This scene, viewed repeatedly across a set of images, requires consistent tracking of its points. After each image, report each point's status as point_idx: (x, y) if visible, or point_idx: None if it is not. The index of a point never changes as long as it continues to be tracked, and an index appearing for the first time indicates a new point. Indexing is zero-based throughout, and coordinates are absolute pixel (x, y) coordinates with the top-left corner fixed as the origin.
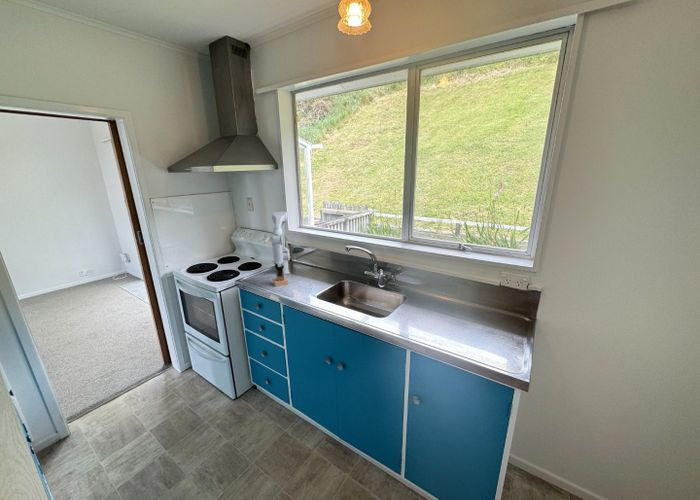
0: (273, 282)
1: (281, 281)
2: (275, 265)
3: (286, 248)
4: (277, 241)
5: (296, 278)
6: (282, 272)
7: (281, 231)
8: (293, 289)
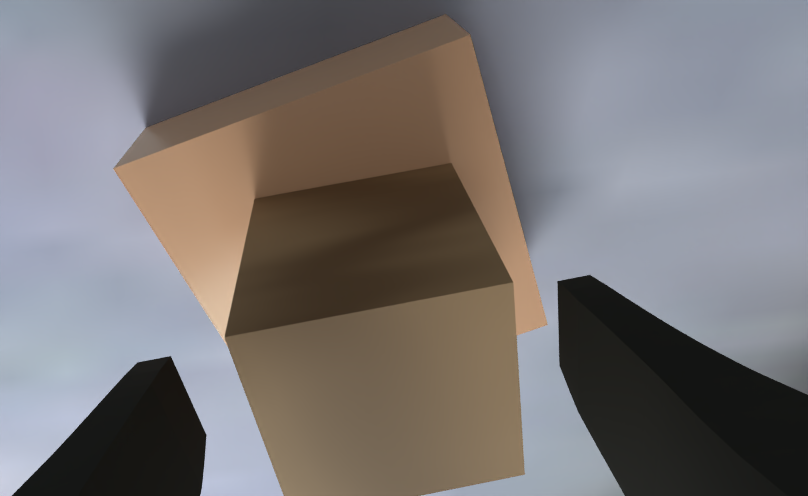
0: (344, 63)
1: (222, 306)
2: (736, 458)
3: None
4: None
5: (568, 442)
6: (352, 485)
7: None
8: (21, 463)
